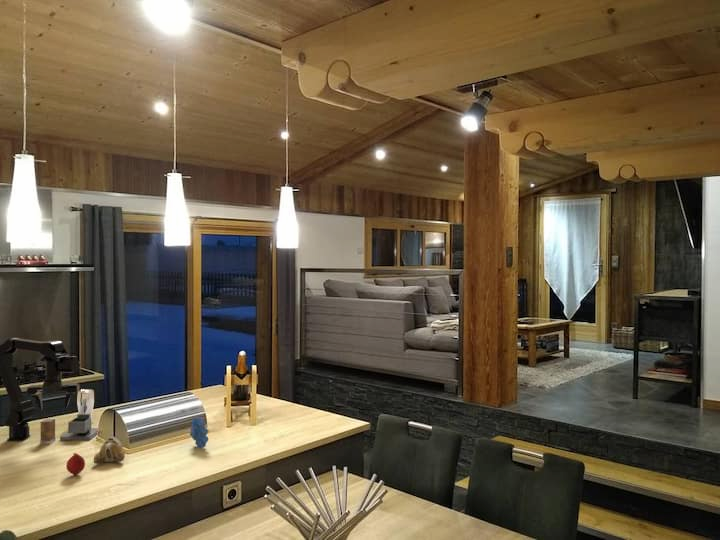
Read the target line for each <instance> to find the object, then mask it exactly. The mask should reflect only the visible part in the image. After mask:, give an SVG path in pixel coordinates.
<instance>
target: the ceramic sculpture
mask: <svg viewBox="0 0 720 540" xmlns="http://www.w3.org/2000/svg"><path fill="white" fill-rule="evenodd" d="M125 455H126V454H125V452H124V451H123V444H122V442H121V441H120V440H119V438H117V437H115V436H114V435H112V436H110V437H109V438H107V439H106V440H105V442H104V443H103V444H102V446H101V447H100V450H99V452H98V453H95V454H94V457H93V464H95V465H96V464H101V463H103V462H105V463H112V462H123V461H124V459H125Z"/></svg>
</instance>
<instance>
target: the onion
mask: <svg viewBox="0 0 720 540" xmlns="http://www.w3.org/2000/svg"><path fill="white" fill-rule="evenodd" d="M85 466H86V462H85V459H84V457H82V455H80V454H78V453H77V452H73V455H72V456H70V457H69V459H68V460H67V462H66V470H67V472H69V473H70V474H72V475H73V476H78V475H79V474H80V473H81V472H83V470H85Z"/></svg>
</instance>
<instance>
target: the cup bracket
mask: <svg viewBox="0 0 720 540" xmlns="http://www.w3.org/2000/svg"><path fill="white" fill-rule="evenodd" d="M67 425H68V426H67V432H64V433H63V434H61V436H60V437H59V441H91V440H92V439H93V438H95V437H96V436H97V435H98V434H97V432H98V428H99V427H92V424H91V413H79V412H78V414H76V417H74V418H73V419H71V420H69V421H68V423H67Z"/></svg>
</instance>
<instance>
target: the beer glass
mask: <svg viewBox="0 0 720 540" xmlns="http://www.w3.org/2000/svg"><path fill="white" fill-rule="evenodd" d="M76 400H77V402H76V405H77V410H78V414H79V413H91V425H93V424H94V421H93V410H94V406H95V405H94V404H95V392H94V389H79V390H78V391H77V399H76Z"/></svg>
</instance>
